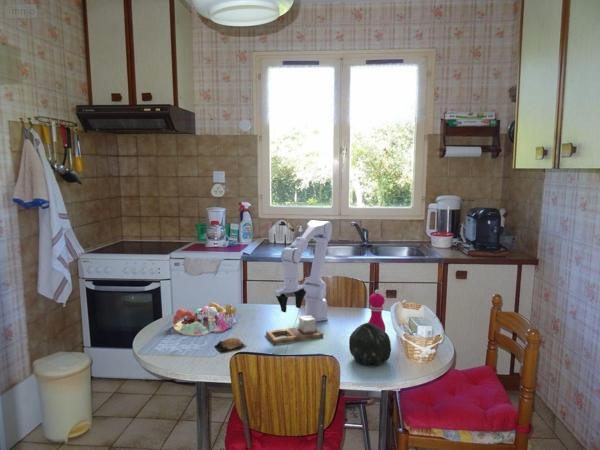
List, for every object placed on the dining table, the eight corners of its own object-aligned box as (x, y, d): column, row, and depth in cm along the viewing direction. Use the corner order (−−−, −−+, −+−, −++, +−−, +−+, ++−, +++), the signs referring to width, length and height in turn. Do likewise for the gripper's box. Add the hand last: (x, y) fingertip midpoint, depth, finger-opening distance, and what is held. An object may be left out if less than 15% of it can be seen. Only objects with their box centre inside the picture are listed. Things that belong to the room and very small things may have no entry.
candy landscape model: (204, 313, 201) (203, 293, 200) (245, 321, 191) (245, 301, 189) (164, 330, 180) (163, 309, 178) (208, 341, 169) (208, 318, 167)
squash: (390, 336, 159) (364, 308, 156) (405, 354, 144) (377, 324, 141) (361, 361, 159) (335, 334, 156) (373, 383, 145) (345, 353, 141)
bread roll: (238, 341, 169) (238, 332, 169) (248, 348, 162) (248, 339, 162) (212, 347, 163) (212, 338, 163) (221, 355, 156) (221, 345, 156)
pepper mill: (387, 337, 172) (388, 288, 169) (382, 344, 165) (383, 293, 163) (369, 334, 175) (370, 286, 172) (364, 340, 168) (365, 291, 166)
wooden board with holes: (313, 328, 181) (313, 324, 181) (323, 337, 172) (323, 333, 171) (266, 335, 174) (266, 331, 174) (274, 345, 164) (274, 340, 164)
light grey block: (310, 331, 178) (310, 315, 177) (315, 336, 173) (315, 319, 172) (299, 333, 176) (299, 316, 175) (303, 337, 172) (303, 320, 171)
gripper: (298, 272, 182) (298, 303, 184) (270, 278, 172) (270, 311, 174) (309, 275, 177) (309, 307, 178) (281, 281, 167) (281, 315, 169)
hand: (291, 309), depth 176 cm, fingers open, 7 cm apart
